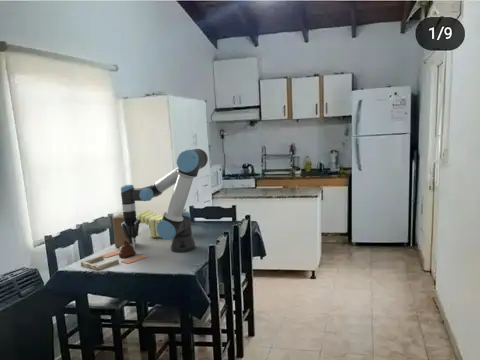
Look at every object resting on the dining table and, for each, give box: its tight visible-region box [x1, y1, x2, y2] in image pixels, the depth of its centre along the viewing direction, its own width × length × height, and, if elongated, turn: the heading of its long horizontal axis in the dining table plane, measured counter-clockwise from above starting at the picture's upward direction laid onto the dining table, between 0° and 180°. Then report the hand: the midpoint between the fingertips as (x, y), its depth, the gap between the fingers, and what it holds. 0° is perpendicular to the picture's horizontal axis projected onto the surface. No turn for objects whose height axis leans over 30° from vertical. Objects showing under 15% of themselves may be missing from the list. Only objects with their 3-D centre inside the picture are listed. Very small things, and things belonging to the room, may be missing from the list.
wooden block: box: [112, 213, 129, 248], centre depth 272 cm, size 10×10×20 cm
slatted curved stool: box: [136, 207, 187, 238], centre depth 291 cm, size 30×16×18 cm, turn 75°
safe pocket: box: [80, 255, 120, 271], centre depth 235 cm, size 17×14×2 cm
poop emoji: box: [118, 241, 136, 259], centre depth 248 cm, size 10×8×9 cm
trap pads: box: [100, 249, 149, 265], centre depth 247 cm, size 29×14×1 cm, turn 50°
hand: (132, 248), depth 252 cm, fingers closed
